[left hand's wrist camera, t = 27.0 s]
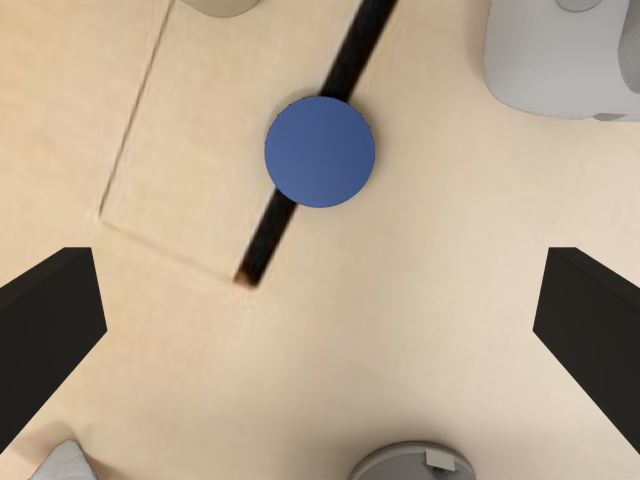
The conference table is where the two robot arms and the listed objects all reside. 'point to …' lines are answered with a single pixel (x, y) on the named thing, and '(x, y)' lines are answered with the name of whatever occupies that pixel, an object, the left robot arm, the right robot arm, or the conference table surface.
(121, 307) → the conference table surface
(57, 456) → the fish
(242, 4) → the jar
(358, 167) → the lid
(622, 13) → the projector
